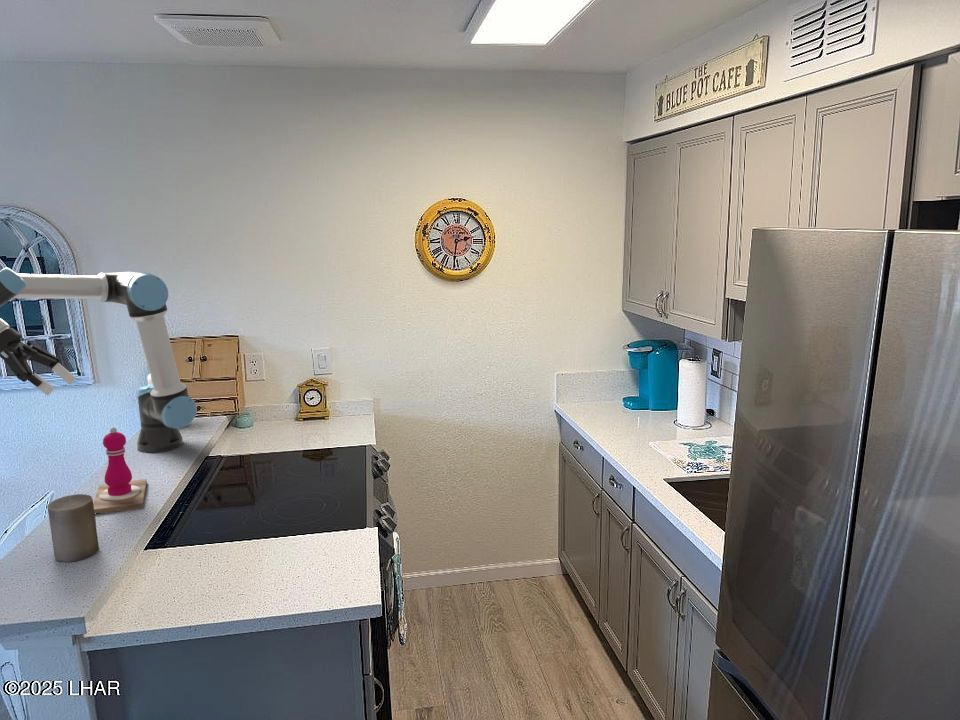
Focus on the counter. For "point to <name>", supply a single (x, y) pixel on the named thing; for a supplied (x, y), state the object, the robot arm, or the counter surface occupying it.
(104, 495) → the tan wooden flat board
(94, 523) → the pillar candle
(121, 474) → the pepper mill
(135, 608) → the counter surface
